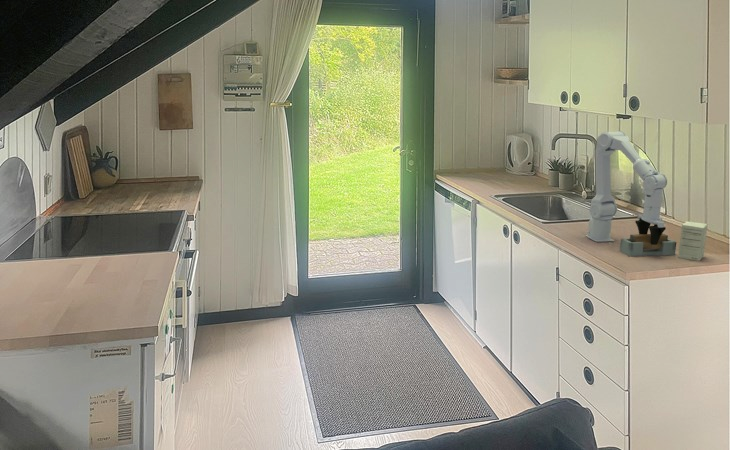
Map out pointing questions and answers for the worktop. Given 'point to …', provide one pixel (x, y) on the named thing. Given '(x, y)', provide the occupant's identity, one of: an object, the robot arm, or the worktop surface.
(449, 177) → the worktop surface
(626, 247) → the green tray
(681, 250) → the supplement box
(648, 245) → the tan brown long block
